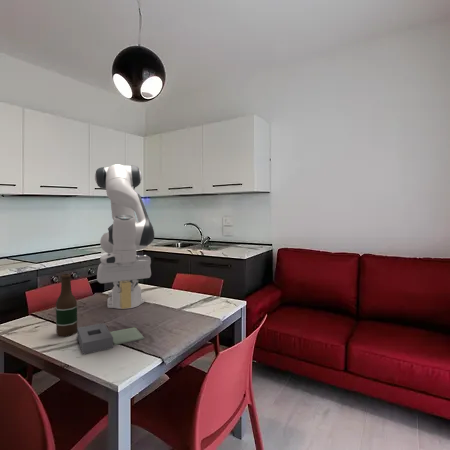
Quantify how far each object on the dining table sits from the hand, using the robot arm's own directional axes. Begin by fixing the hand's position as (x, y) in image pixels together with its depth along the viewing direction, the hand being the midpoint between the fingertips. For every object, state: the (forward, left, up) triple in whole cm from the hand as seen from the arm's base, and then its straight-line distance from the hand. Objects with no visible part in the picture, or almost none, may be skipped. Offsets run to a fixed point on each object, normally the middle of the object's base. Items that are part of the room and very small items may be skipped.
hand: (125, 291), depth 123 cm
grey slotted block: (0, -12, -18) cm, 21 cm away
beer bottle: (-15, -20, -18) cm, 31 cm away
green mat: (0, 0, -18) cm, 18 cm away
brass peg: (0, 0, -6) cm, 6 cm away
